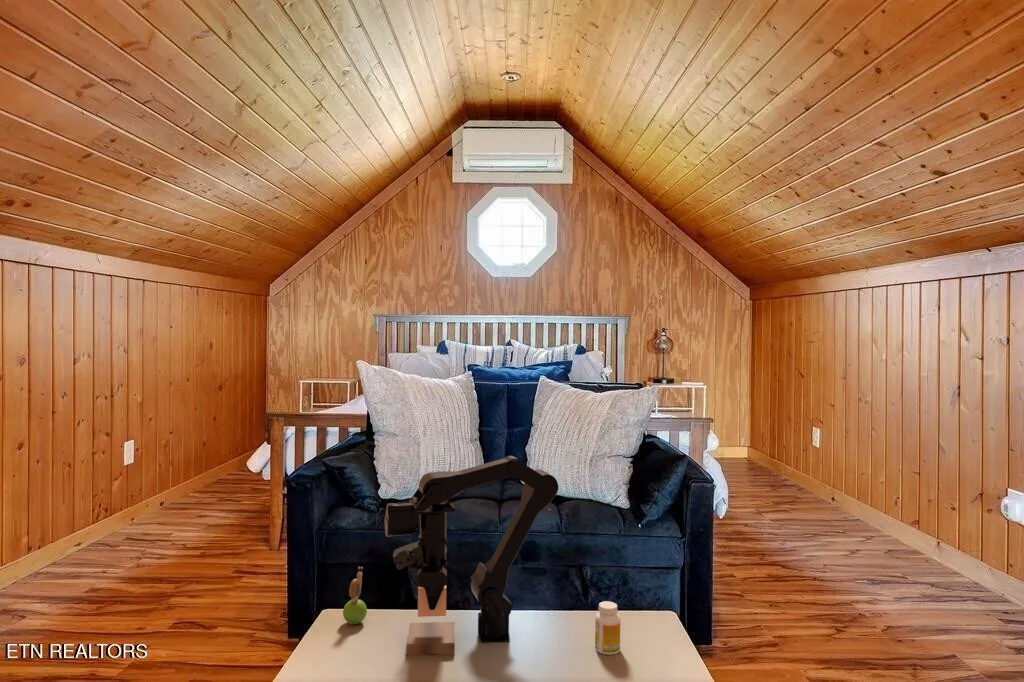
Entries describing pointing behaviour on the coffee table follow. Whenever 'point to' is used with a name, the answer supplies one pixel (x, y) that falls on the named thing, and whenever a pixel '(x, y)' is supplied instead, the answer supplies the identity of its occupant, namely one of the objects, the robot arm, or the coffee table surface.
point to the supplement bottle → (607, 629)
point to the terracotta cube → (424, 607)
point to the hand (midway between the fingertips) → (432, 603)
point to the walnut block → (431, 639)
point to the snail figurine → (355, 602)
